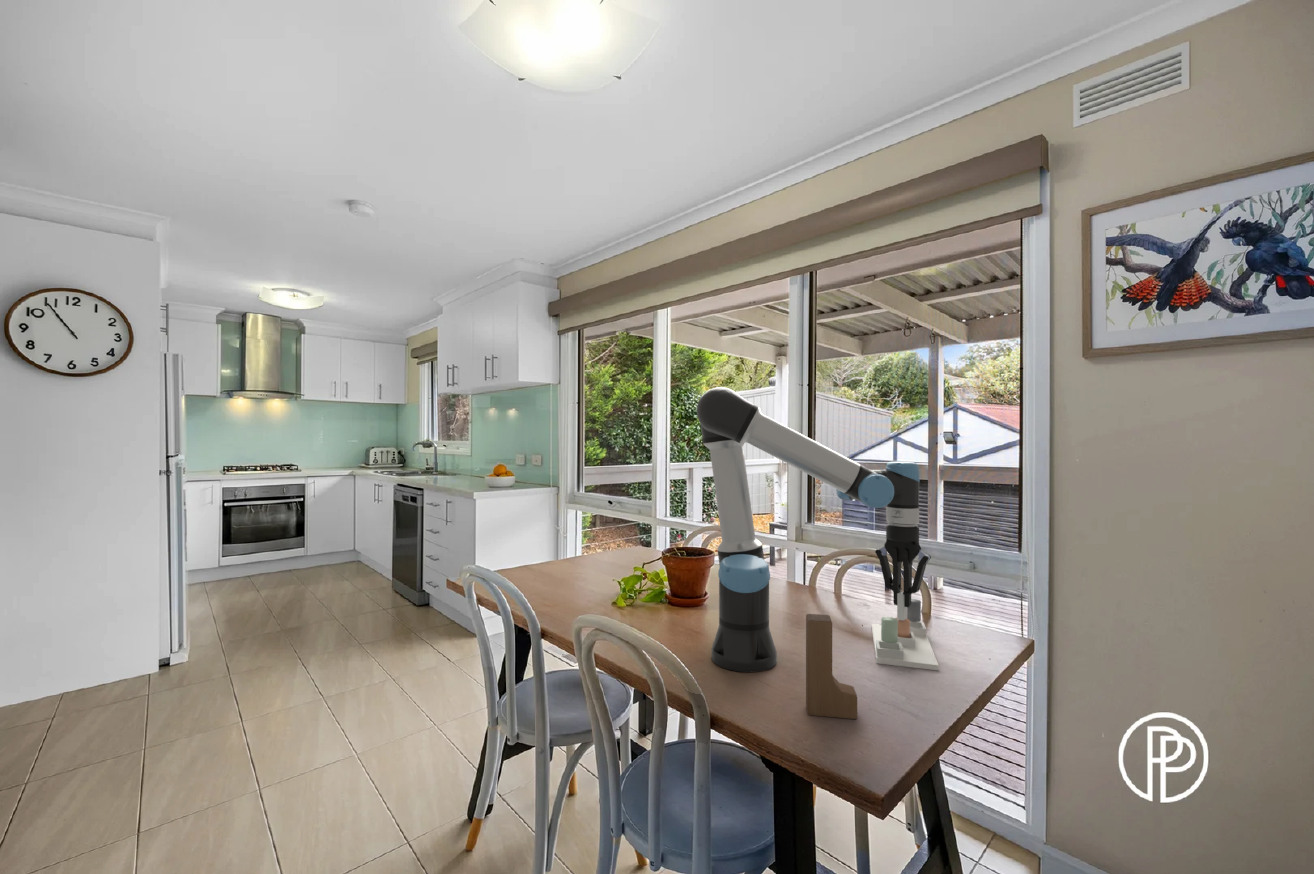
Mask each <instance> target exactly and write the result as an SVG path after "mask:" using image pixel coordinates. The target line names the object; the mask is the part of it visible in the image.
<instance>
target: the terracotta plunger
mask: <svg viewBox="0 0 1314 874" xmlns="http://www.w3.org/2000/svg"><path fill="white" fill-rule="evenodd" d="M895 618H896V619H897V617H895ZM898 637H904V638H910V620H909V619H906V620H904V621H901V620H898Z"/></svg>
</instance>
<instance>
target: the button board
mask: <svg viewBox="0 0 1314 874" xmlns="http://www.w3.org/2000/svg"><path fill="white" fill-rule="evenodd" d="M871 631H872V632H871V633H872V634H871V635H872V640H873V641H872V642H873V647H874V655H875V662H876V664H881V665H888V666H889V665H891V666H896V667H897V666H898V667H904V668H906V667H907V668H915V669H924V670H930V671H931V670H932V671H939V669H940V667H939V666H940V664H939V663H938V660H937V658H936V656H935V655H936V654H935V653H934V650H933V647H932V645H931V643H930V639H928V635H927V627H926V625H925V622H924V621H920V622H911V621H910V638H904V637H898V642H897V643H886V642H883V641H882V640H881V624H878V623H871Z"/></svg>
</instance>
